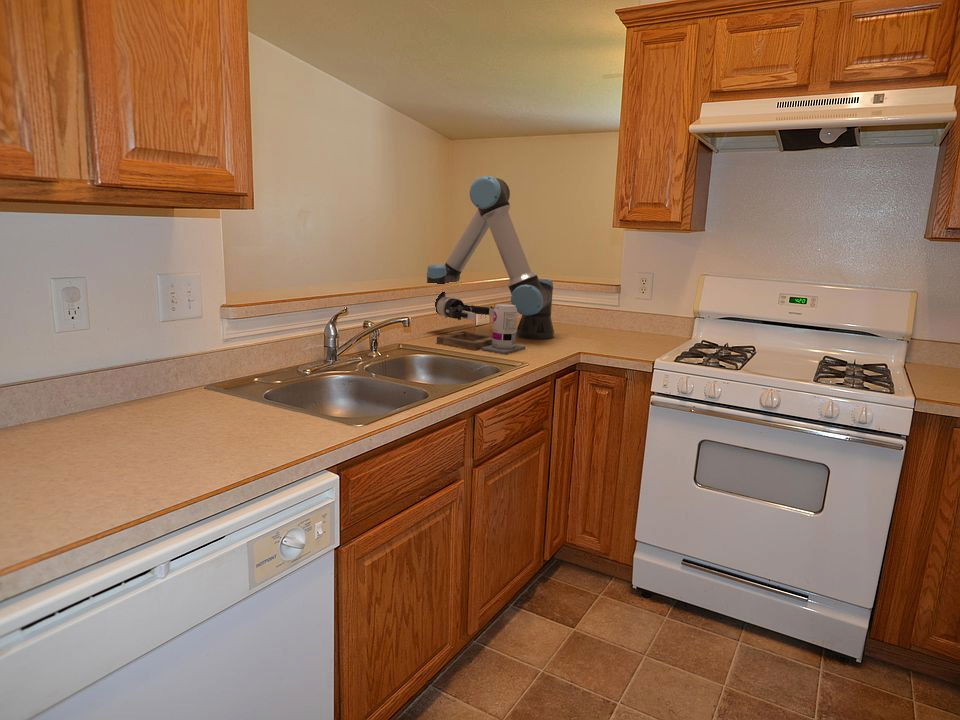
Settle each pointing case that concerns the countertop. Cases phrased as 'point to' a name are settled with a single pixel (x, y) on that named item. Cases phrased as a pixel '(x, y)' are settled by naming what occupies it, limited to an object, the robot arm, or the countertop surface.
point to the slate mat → (502, 351)
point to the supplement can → (504, 326)
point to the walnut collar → (465, 340)
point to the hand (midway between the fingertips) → (488, 315)
